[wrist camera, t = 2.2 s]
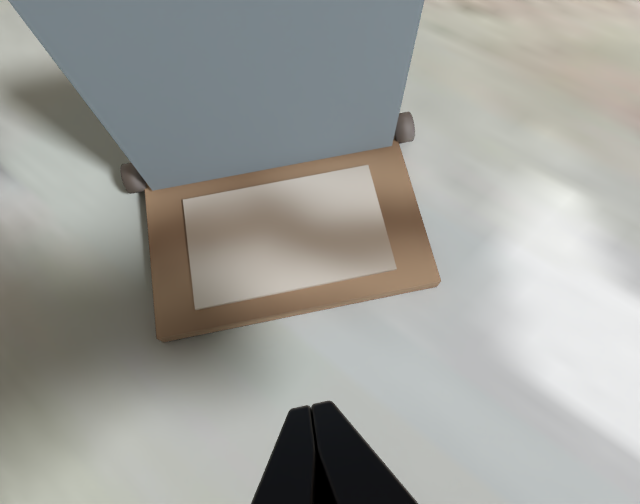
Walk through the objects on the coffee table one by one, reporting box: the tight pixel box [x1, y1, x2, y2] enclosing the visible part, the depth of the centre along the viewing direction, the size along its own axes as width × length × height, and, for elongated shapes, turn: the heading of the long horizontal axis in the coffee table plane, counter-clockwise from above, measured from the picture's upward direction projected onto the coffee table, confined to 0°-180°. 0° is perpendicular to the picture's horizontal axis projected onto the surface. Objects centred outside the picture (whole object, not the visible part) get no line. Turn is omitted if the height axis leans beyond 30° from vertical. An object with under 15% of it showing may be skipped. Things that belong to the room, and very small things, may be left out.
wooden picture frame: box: [121, 112, 441, 342], centre depth 24 cm, size 10×16×2 cm, turn 101°
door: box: [8, 0, 424, 191], centre depth 20 cm, size 2×13×12 cm, turn 101°
